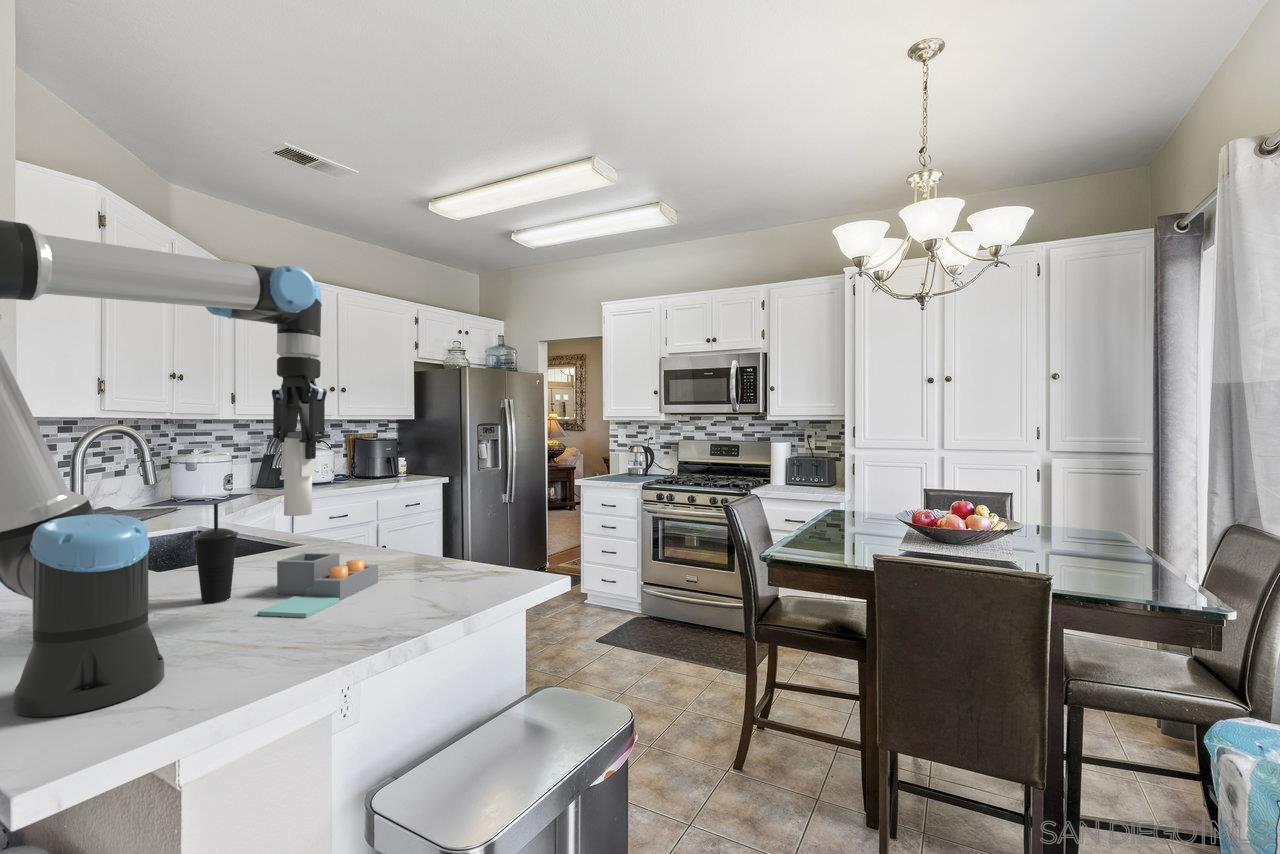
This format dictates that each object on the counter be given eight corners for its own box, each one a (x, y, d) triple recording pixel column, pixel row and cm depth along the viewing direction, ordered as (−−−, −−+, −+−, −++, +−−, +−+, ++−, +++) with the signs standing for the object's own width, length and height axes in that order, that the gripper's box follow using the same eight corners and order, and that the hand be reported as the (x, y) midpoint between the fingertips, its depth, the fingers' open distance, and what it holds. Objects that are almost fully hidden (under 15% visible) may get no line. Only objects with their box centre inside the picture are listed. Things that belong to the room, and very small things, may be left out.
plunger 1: (341, 593, 126) (341, 570, 126) (325, 593, 126) (325, 569, 126) (351, 589, 129) (351, 566, 129) (336, 588, 130) (336, 565, 130)
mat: (306, 617, 112) (306, 613, 112) (257, 615, 114) (257, 611, 114) (339, 601, 122) (339, 597, 122) (294, 600, 124) (294, 596, 124)
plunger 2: (358, 586, 132) (358, 563, 132) (343, 585, 132) (342, 563, 132) (367, 581, 135) (367, 559, 135) (352, 581, 136) (352, 559, 136)
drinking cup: (221, 605, 120) (220, 506, 119) (183, 605, 120) (183, 506, 120) (247, 594, 127) (246, 501, 127) (211, 594, 127) (211, 501, 127)
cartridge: (317, 513, 119) (317, 432, 119) (294, 516, 115) (294, 432, 115) (301, 511, 121) (302, 432, 121) (278, 514, 117) (279, 432, 117)
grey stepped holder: (340, 600, 123) (340, 566, 123) (267, 597, 125) (267, 564, 125) (378, 582, 137) (377, 551, 137) (312, 580, 139) (312, 550, 139)
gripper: (346, 357, 118) (345, 475, 118) (288, 361, 125) (287, 472, 125) (310, 353, 111) (309, 478, 111) (252, 357, 119) (251, 474, 119)
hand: (298, 475), depth 118 cm, fingers closed on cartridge, 5 cm apart
